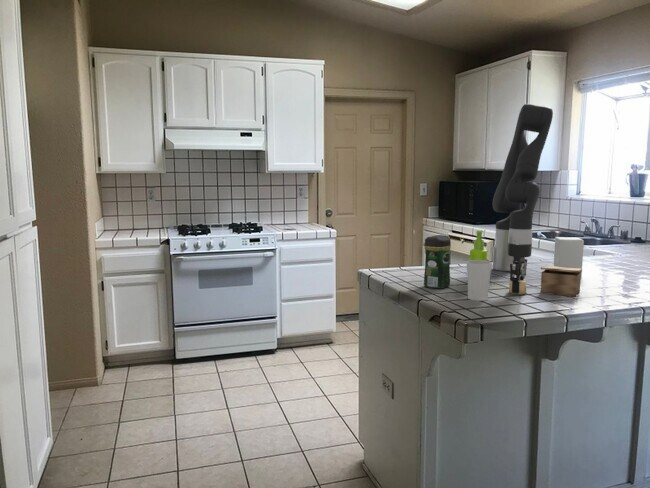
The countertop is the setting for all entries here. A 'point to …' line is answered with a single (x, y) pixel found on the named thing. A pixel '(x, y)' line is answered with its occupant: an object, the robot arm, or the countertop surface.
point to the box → (560, 282)
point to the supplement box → (568, 252)
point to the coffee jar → (437, 261)
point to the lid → (561, 269)
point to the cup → (478, 279)
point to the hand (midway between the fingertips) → (517, 291)
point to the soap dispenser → (478, 248)
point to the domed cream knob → (521, 287)
